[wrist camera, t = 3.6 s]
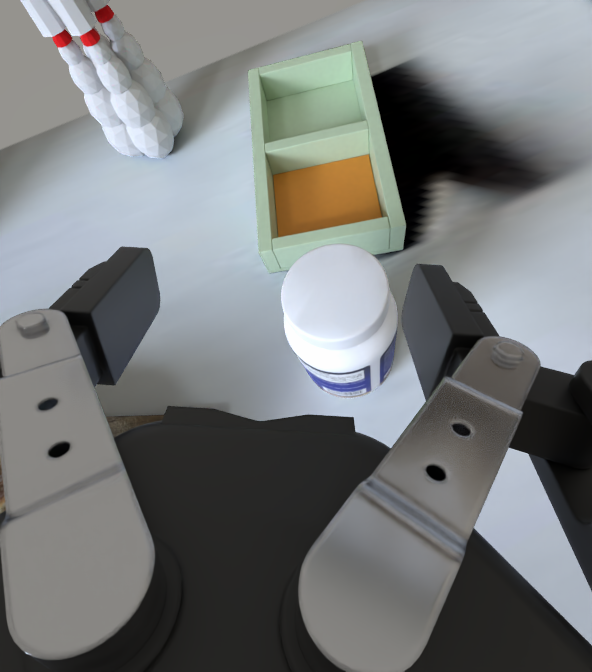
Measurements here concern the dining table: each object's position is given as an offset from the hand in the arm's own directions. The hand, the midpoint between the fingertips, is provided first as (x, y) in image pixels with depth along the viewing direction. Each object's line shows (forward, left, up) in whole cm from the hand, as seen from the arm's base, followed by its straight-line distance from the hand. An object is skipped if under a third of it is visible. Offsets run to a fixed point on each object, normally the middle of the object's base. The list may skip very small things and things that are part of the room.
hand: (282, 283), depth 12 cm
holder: (+1, +19, -14) cm, 24 cm away
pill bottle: (+1, +2, -14) cm, 14 cm away
